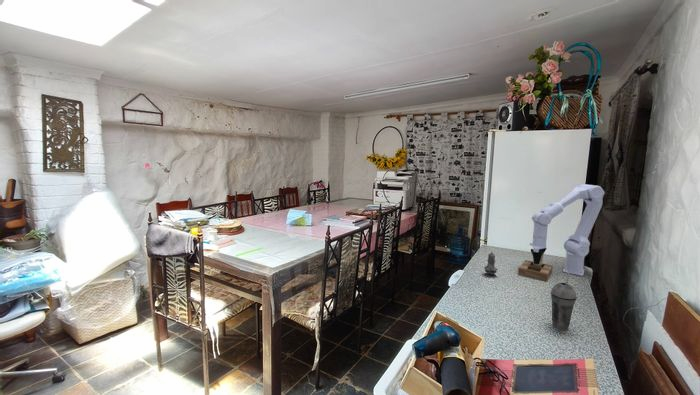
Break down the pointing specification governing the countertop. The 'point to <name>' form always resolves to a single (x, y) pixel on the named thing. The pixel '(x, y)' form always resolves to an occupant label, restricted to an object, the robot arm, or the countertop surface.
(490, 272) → the grey chess piece
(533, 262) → the beech pin
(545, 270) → the block
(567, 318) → the beverage cup
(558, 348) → the countertop surface
